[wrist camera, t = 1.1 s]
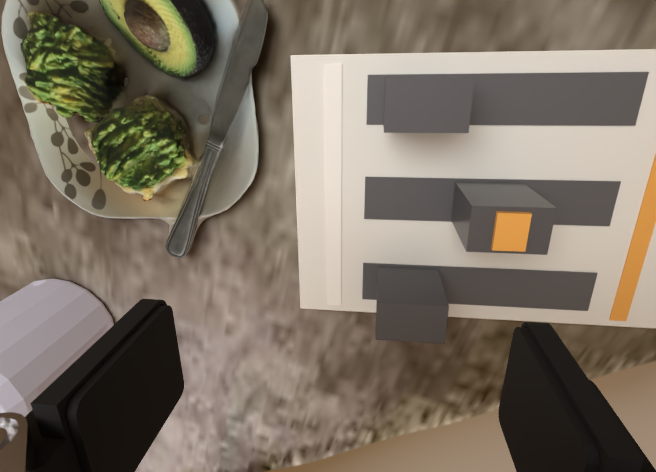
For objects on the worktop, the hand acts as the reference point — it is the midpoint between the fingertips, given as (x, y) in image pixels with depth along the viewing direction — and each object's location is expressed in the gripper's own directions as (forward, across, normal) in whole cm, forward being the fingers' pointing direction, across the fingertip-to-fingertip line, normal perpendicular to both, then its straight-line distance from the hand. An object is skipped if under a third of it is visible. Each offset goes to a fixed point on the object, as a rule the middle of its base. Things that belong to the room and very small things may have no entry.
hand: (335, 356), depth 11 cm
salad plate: (+19, +15, -6) cm, 25 cm away
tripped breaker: (+16, -8, 0) cm, 18 cm away
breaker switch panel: (+19, -8, 0) cm, 20 cm away
